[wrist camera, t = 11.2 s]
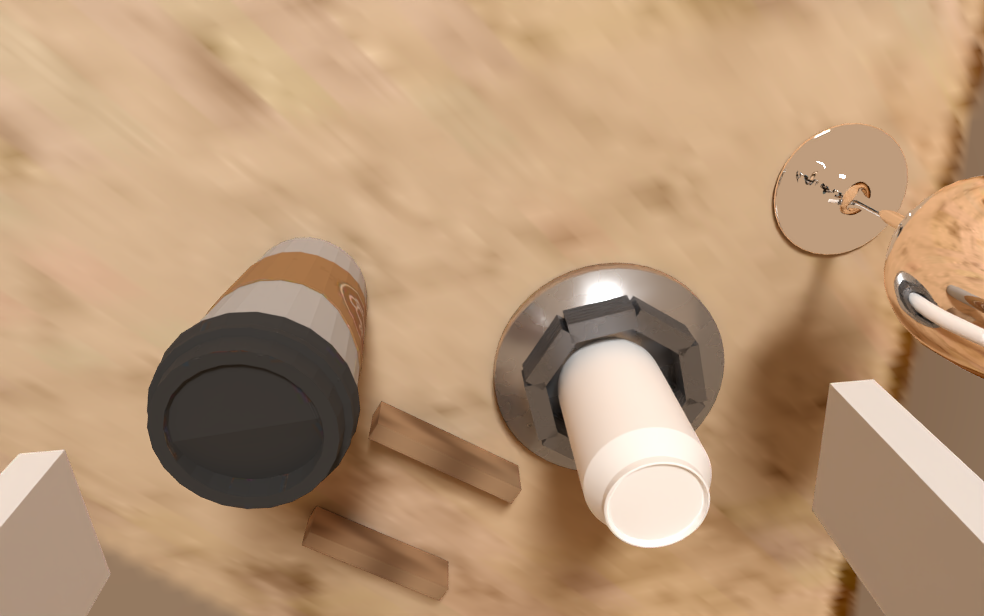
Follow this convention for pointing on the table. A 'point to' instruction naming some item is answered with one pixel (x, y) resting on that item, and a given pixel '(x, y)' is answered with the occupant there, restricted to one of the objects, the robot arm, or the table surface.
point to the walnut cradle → (386, 552)
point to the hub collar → (594, 316)
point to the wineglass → (914, 245)
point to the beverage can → (633, 445)
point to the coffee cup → (265, 380)
